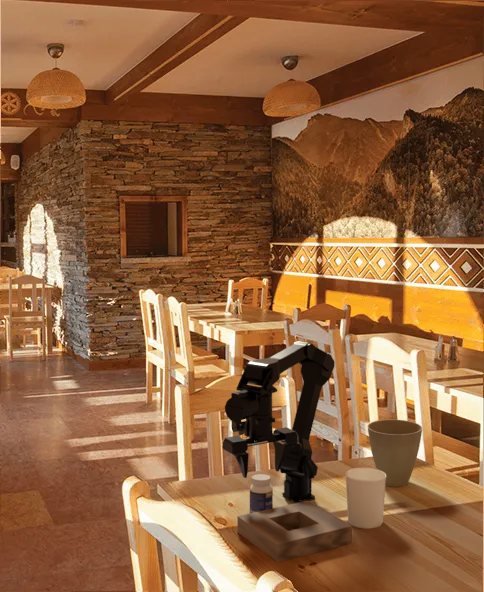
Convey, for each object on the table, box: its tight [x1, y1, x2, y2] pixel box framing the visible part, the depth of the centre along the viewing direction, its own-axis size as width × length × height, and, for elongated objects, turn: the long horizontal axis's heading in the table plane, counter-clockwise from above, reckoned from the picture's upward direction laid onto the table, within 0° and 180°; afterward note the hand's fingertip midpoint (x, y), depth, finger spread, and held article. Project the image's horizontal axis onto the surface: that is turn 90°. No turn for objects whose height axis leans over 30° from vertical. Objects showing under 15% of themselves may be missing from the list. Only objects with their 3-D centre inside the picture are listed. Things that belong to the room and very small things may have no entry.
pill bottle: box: [249, 473, 274, 513], centre depth 194 cm, size 6×6×10 cm
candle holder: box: [345, 467, 387, 530], centre depth 190 cm, size 10×10×12 cm
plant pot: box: [367, 419, 423, 488], centre depth 217 cm, size 15×15×16 cm
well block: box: [236, 500, 353, 563], centre depth 182 cm, size 20×18×4 cm
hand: (261, 474), depth 194 cm, fingers open, 9 cm apart
